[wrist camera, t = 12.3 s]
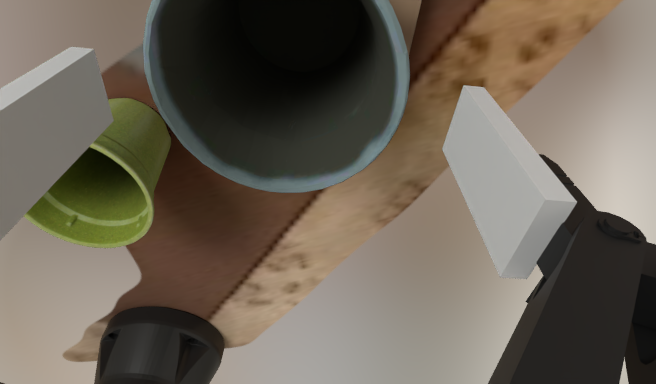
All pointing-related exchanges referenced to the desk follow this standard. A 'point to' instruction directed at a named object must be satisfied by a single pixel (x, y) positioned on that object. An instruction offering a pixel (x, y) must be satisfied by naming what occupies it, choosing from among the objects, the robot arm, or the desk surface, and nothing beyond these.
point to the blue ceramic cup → (278, 85)
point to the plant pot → (109, 182)
